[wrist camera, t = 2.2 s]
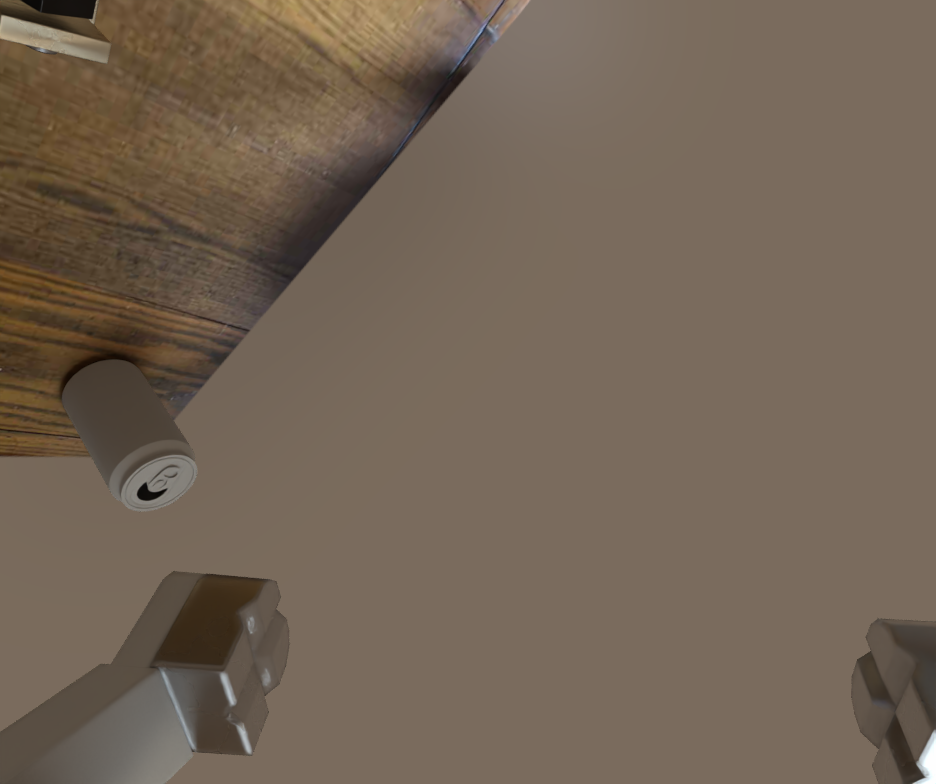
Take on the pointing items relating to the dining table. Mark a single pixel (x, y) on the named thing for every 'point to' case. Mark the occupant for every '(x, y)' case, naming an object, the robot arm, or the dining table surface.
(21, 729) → the robot arm
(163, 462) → the beverage can
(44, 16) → the bracket
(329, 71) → the dining table surface
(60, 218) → the dining table surface
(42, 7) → the lever
